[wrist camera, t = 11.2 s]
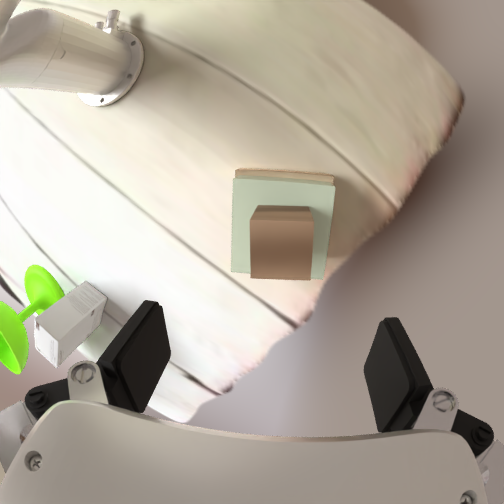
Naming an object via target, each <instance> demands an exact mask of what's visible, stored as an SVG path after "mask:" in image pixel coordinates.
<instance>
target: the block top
mask: <svg viewBox="0 0 504 504" xmlns="http://www.w3.org/2000/svg"><path fill="white" fill-rule="evenodd" d="M334 196H335V186H334V185H333V184H331V183H330V182H324V181H315V180H304V179H293V178H280V177H265V176H247V175H239V176H237V177H235V178H234V179H233V200H232V249H231V272H238V273H249V274H251V269H250V218H251V216H252V215H253V213H254V211H255V209H256V207H257V206H258V205H282V206H309V209H310V211H311V214H312V217H313V219H314V238H313V253H312V267H311V279H322V280H323V277H324V271H325V265H326V258H327V252H328V245H329V238H330V230H331V222H332V214H333V206H334Z"/></svg>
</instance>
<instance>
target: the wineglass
mask: <svg viewBox="0 0 504 504" xmlns="http://www.w3.org/2000/svg"><path fill="white" fill-rule="evenodd" d="M25 289H26V293H27V296H28V299H29V301H30V303H31V304H30V305H29V306H28V307H27V308H25V309H24V310H23V311H22V312H20V313H19V314H18V315H17V314H16V312H15V311H14V310H13V309H12V308H11V307H10V306H8V305H7V304H5V303H4V302H1V301H0V361H1V362H2V363H3V364H4V365H5V366H6V367H7V368H8V369H9V370H10V371H12V372H13V373H15V374H20V373H21V372H22V370H23V369H24V367H25V365H26V362H27V358H28V350H29V343H28V338H27V332H26V329H25V327H24V325H23V323H22V322H24V321H25V320H26V319H27V318H28V317H29V316H31V315H32V314H33V313H34V312H35V311H36V313H37V314H38V315H40V314H41V313H42V312H44V311H45V310H46V309H48V308H49V307H50V306H52V305H53V304H54V303H56V302H57V301H58V300H60V299H61V298H62V297H64V296H65V295H64V293H63V291H62V289H61V287H60V286H59V284H58V283H57V281H56V280H55V279H54V278H53V276H52V275H51V274H50V273H49V272H48V271H47V270H45V269H44V268H43V267H41V266H39V265H32V266H30V267H29V268H28V269H27V271H26V274H25Z"/></svg>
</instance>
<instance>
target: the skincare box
mask: <svg viewBox="0 0 504 504" xmlns="http://www.w3.org/2000/svg"><path fill="white" fill-rule="evenodd" d="M106 301H107V297H106V296H104V295H103V294H102V293H100V292H99V291H98V290H97V289H95V288H94V287H93V286H92V285H90V284H89V283H88V282H87V281H85V282H83V283H82V284H80V285H79V286H78V287H76V288H75V289H73V290H72V291H71V292H69V293H68V294H67V295H65V296H64V297H62V298H61V299H60V300H58V301H57V302H56V303H54V304H53V305H52V306H50V307H49V308H48V309H46V310H45V311H44V312H42V313H41V314H40V315H39V316H37V317H36V318H35V319H34V321H35V331H34V338H35V348H36V349H37V350H38V351H39V352H40V353H41V354H42V355H43V356H44V357H45V358H46V359H48V361H49V362H51V363H52V364H53V365H54V366H55V367H56V368H58V367H59V365H61V364H62V362H63V361H64V360H65V359H66V358H67V357H68V356H69V355H70V354H71V353H72V352H73V351H74V350H75V349H76V348H77V347H78V346H79V345H80V344H81V343H82V342H83V341H84V340H85V339H86V338H87V337H88V336H89V335H90V334H91V333H92V332H93V331H94V330H95V329H96V328H97V327H98V326H99V325H100V323H101V317H102V313H103V310H104V307H105V304H106Z"/></svg>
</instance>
